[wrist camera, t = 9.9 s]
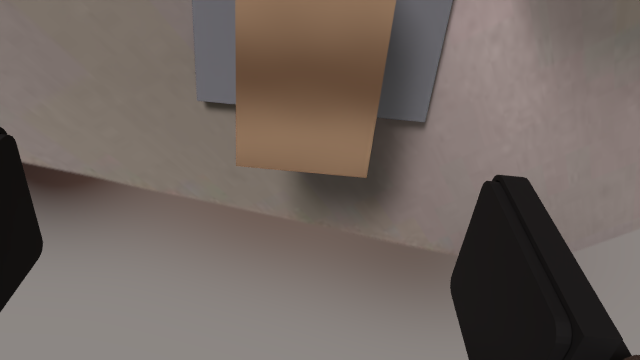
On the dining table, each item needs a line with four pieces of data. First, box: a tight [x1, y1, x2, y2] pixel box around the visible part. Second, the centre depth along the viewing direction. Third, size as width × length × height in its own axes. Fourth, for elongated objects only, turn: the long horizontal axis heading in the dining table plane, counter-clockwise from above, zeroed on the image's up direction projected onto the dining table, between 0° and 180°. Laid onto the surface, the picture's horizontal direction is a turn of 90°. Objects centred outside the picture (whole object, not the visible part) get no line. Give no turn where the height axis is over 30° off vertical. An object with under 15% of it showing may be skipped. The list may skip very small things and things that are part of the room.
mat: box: [192, 0, 453, 122], centre depth 28 cm, size 14×12×1 cm
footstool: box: [235, 0, 396, 178], centre depth 24 cm, size 10×6×8 cm, turn 175°
